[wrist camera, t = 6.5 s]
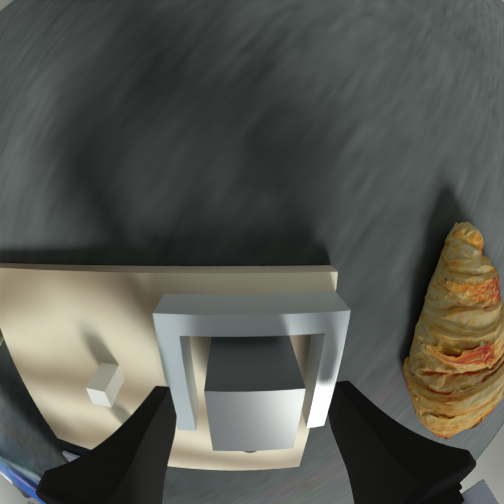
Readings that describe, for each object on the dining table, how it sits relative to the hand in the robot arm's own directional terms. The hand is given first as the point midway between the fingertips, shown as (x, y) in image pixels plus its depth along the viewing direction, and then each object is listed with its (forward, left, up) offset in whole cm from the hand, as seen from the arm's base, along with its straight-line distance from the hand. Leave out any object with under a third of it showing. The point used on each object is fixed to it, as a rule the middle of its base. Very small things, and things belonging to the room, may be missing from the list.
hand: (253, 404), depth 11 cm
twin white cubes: (-4, +8, -3) cm, 9 cm away
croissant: (-2, -15, -4) cm, 16 cm away
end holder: (0, 0, -3) cm, 3 cm away
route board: (-4, +7, -4) cm, 9 cm away
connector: (-2, 0, -3) cm, 3 cm away
